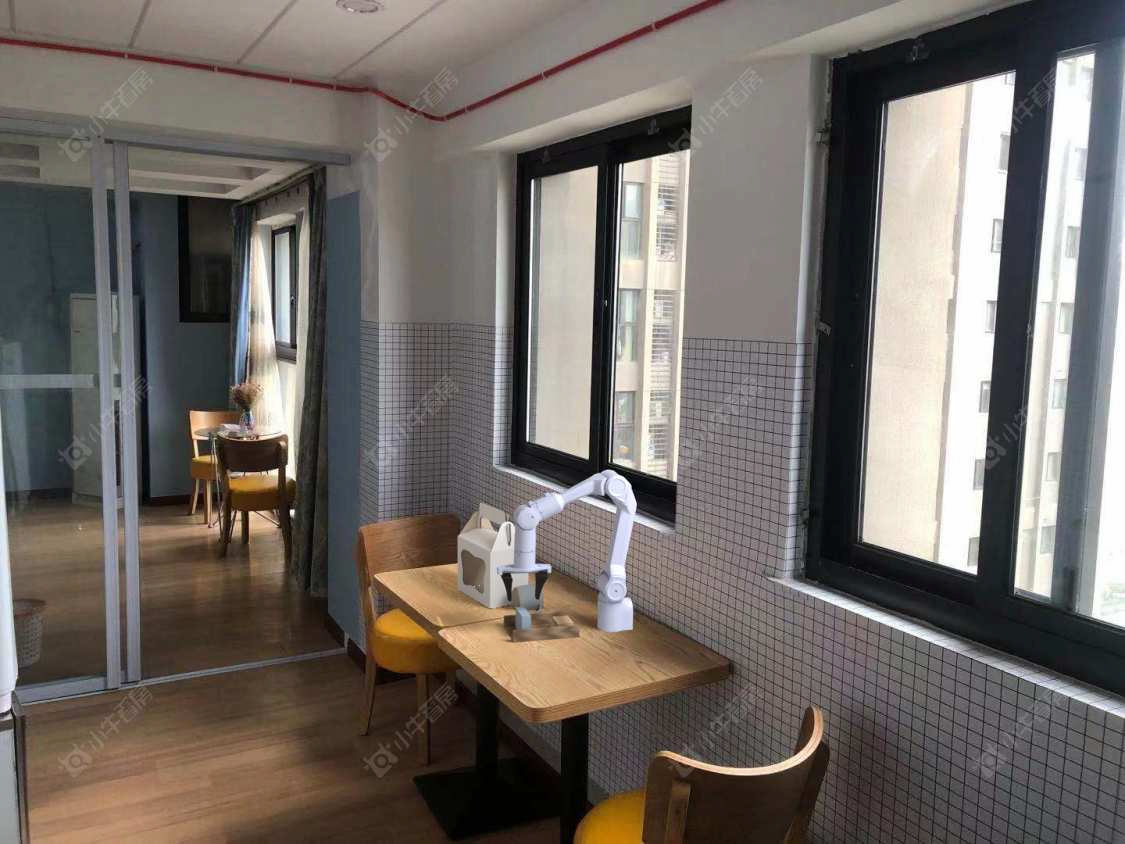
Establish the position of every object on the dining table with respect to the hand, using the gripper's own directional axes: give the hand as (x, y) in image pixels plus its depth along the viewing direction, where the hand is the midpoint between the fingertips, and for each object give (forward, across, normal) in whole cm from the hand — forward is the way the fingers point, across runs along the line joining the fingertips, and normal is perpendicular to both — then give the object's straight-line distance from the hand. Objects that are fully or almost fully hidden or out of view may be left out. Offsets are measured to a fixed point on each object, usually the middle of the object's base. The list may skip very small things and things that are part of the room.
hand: (523, 599), depth 245 cm
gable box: (+10, +1, -36) cm, 38 cm away
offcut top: (+8, -11, +1) cm, 13 cm away
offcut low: (+9, -11, 0) cm, 14 cm away
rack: (+10, -5, 0) cm, 11 cm away
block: (+9, 0, 0) cm, 9 cm away
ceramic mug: (+10, -7, -20) cm, 23 cm away
